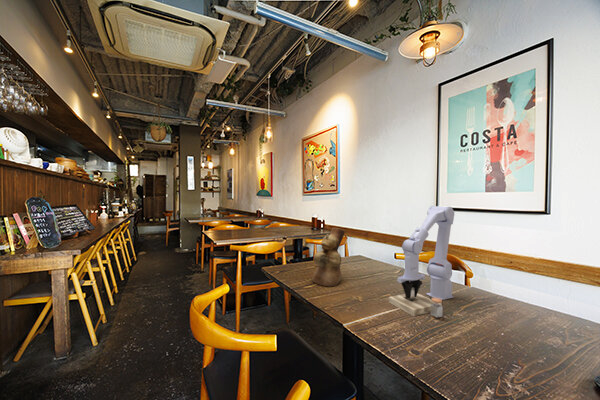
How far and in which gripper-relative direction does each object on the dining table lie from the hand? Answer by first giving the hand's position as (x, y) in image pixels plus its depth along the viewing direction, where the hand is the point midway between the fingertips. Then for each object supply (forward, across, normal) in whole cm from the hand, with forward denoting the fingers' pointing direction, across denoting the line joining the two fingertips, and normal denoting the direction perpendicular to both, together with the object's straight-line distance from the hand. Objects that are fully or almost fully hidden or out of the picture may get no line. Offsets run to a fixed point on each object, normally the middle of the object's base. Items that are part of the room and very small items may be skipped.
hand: (410, 296), depth 112 cm
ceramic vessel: (+4, +19, -40) cm, 44 cm away
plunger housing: (+3, 0, +13) cm, 13 cm away
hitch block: (+3, 0, +2) cm, 4 cm away
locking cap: (0, 0, +13) cm, 13 cm away
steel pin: (+2, 0, 0) cm, 3 cm away
